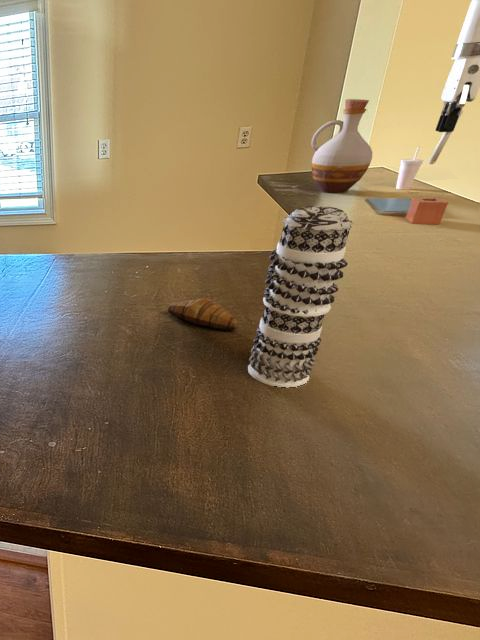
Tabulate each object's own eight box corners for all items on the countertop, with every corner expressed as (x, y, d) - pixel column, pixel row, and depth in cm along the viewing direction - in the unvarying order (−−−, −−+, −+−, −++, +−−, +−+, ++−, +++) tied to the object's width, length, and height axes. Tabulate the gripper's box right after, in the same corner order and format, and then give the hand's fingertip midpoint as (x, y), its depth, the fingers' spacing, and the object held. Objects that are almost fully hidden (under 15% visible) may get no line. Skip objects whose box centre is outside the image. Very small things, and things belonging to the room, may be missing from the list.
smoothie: (414, 190, 169) (429, 147, 162) (392, 190, 172) (406, 148, 165) (412, 187, 173) (426, 145, 166) (390, 186, 176) (403, 145, 169)
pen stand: (432, 218, 139) (440, 197, 136) (439, 224, 134) (448, 202, 131) (405, 218, 141) (412, 197, 138) (411, 223, 136) (419, 201, 133)
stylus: (433, 164, 135) (463, 108, 127) (434, 165, 134) (465, 109, 126) (426, 163, 135) (456, 108, 128) (427, 164, 134) (458, 108, 126)
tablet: (416, 201, 156) (417, 198, 156) (436, 216, 141) (437, 212, 140) (365, 200, 162) (366, 197, 161) (379, 214, 146) (380, 211, 145)
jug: (294, 193, 177) (315, 102, 162) (305, 184, 189) (326, 98, 174) (357, 197, 166) (386, 99, 151) (365, 188, 177) (393, 96, 162)
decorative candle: (254, 388, 71) (294, 220, 59) (238, 358, 79) (270, 203, 67) (321, 390, 70) (377, 218, 57) (298, 359, 77) (343, 201, 65)
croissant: (244, 325, 89) (249, 300, 86) (228, 338, 85) (232, 313, 83) (177, 307, 98) (180, 284, 95) (159, 318, 94) (162, 295, 91)
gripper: (505, 49, 114) (472, 134, 123) (480, 51, 126) (451, 128, 135) (464, 52, 116) (435, 135, 126) (444, 53, 129) (418, 129, 138)
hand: (444, 130), depth 130 cm, fingers closed on stylus, 1 cm apart
